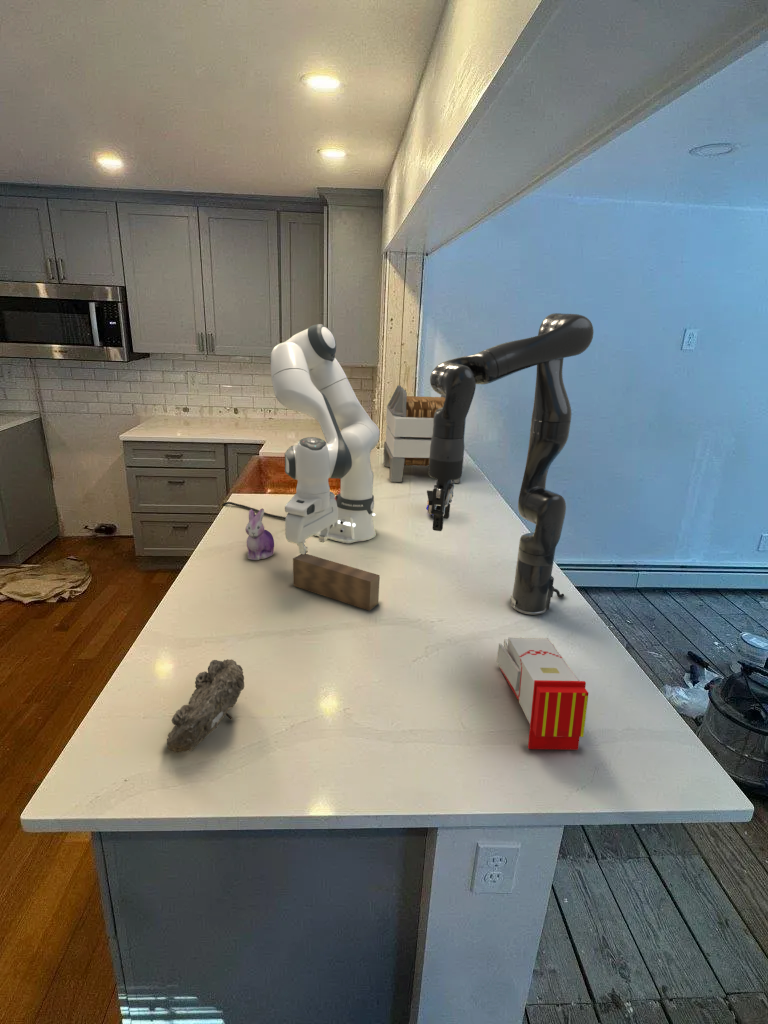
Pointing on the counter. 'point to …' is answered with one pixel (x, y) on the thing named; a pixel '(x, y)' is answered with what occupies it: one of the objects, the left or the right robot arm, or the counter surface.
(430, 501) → the figurine character
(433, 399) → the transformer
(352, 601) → the bar
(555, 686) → the toy
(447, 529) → the counter surface
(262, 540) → the figurine
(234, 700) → the fossil
